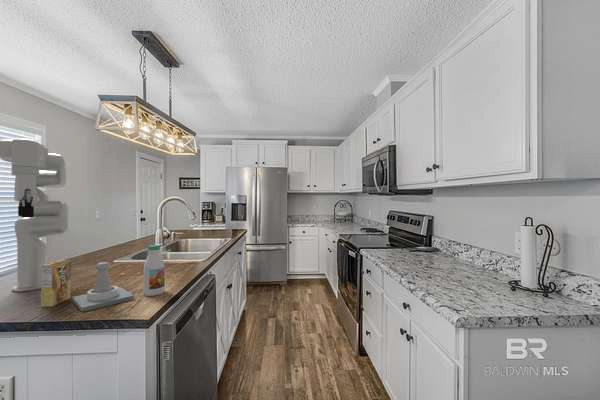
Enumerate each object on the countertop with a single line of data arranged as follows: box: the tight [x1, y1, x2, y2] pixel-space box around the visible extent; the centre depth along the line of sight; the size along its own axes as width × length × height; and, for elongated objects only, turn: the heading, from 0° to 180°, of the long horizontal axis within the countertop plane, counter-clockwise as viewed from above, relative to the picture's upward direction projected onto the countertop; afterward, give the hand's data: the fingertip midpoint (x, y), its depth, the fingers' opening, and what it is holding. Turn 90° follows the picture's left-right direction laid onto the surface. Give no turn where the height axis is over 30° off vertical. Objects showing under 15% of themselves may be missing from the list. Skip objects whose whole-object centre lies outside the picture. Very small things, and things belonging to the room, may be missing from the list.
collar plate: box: [71, 285, 134, 313], centre depth 105 cm, size 16×16×4 cm
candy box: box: [40, 259, 72, 308], centre depth 102 cm, size 9×4×15 cm, turn 6°
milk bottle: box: [143, 244, 166, 297], centre depth 112 cm, size 8×8×20 cm
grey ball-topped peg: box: [93, 261, 112, 293], centre depth 105 cm, size 6×6×13 cm
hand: (25, 216), depth 103 cm, fingers open, 9 cm apart
